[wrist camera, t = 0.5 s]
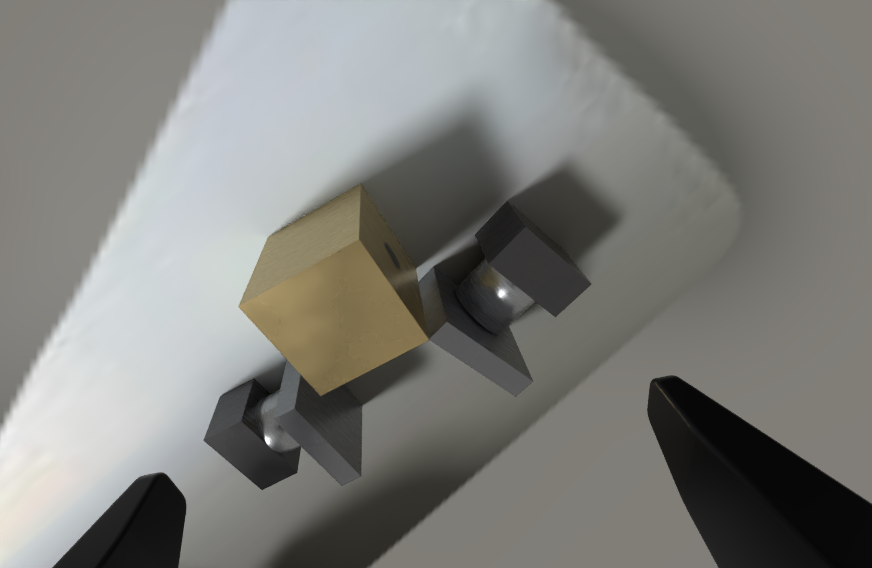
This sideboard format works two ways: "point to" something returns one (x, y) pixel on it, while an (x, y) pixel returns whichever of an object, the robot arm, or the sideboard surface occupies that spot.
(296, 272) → the block
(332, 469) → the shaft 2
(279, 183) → the sideboard surface
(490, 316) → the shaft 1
